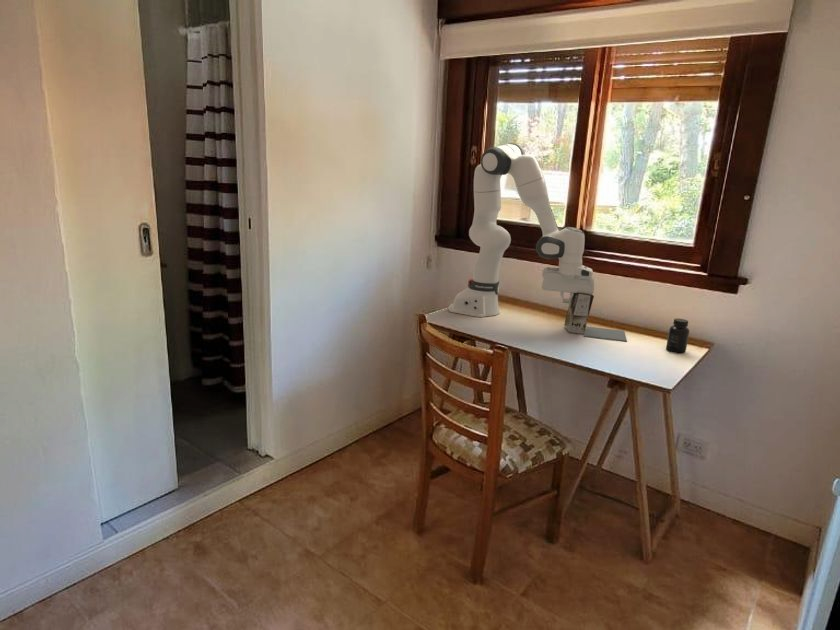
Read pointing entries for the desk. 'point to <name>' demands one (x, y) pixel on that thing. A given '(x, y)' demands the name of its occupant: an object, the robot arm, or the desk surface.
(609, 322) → the desk surface
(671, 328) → the supplement bottle
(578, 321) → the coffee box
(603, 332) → the mat
